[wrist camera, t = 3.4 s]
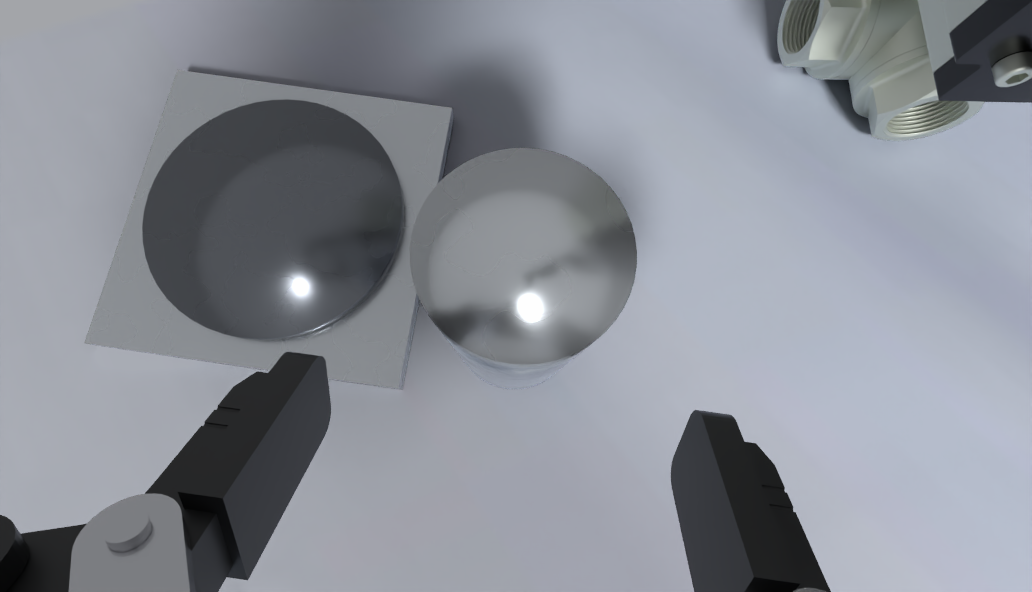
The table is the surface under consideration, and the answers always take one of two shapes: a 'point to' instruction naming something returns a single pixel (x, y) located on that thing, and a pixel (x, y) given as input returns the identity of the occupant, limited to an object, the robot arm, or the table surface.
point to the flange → (276, 229)
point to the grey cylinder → (522, 262)
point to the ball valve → (913, 57)
